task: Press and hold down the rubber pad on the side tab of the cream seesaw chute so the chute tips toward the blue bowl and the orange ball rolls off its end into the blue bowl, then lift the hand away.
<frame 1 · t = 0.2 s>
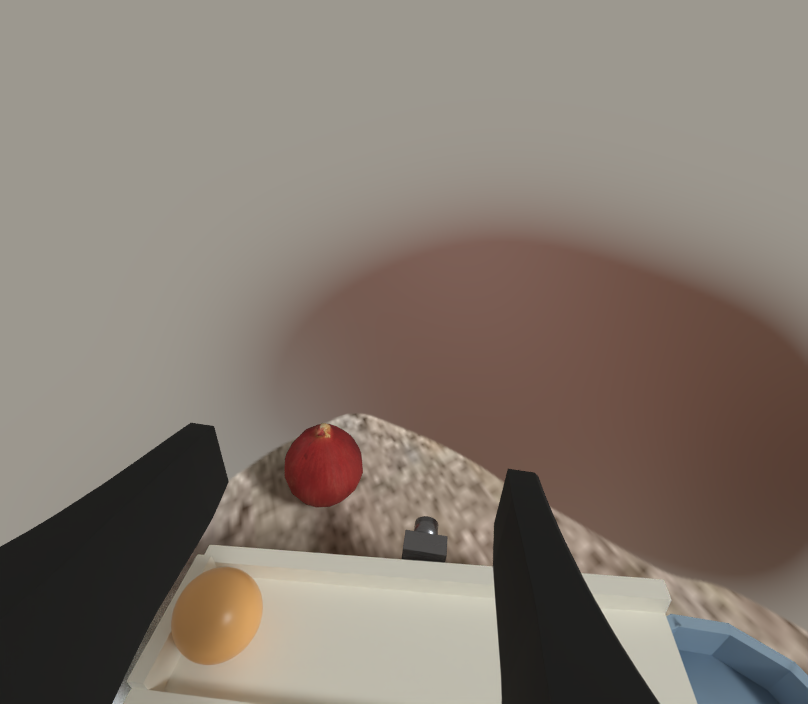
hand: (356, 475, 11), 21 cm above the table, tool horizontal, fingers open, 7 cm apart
onion: (324, 499, 36), on the table
ball: (218, 613, 21), point 7 cm above the table, tilted 21°, touching lever
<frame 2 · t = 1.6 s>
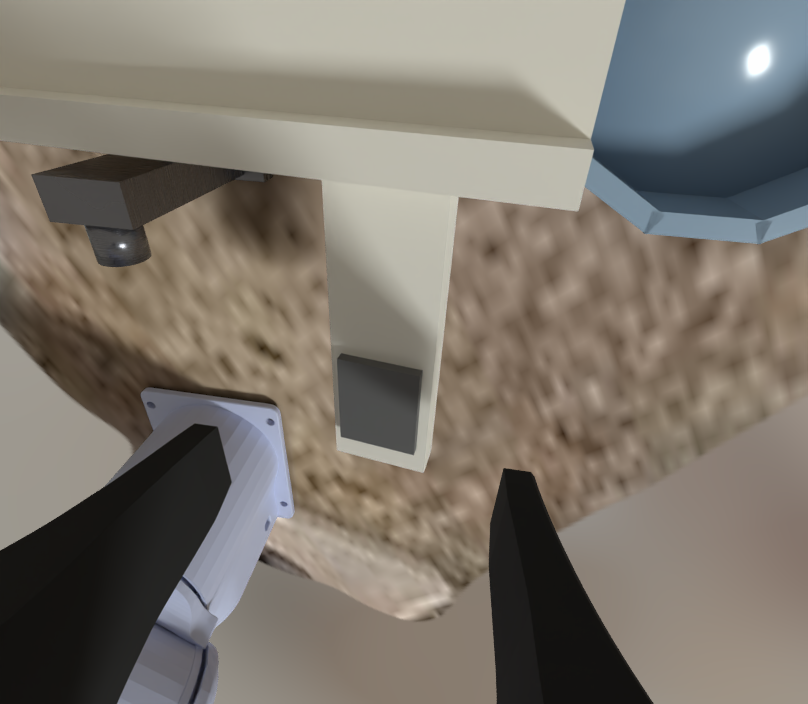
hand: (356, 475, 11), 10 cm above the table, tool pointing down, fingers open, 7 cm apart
lever: (80, 162, 11), point 7 cm above the table, hinge at -8.0°, touching ball
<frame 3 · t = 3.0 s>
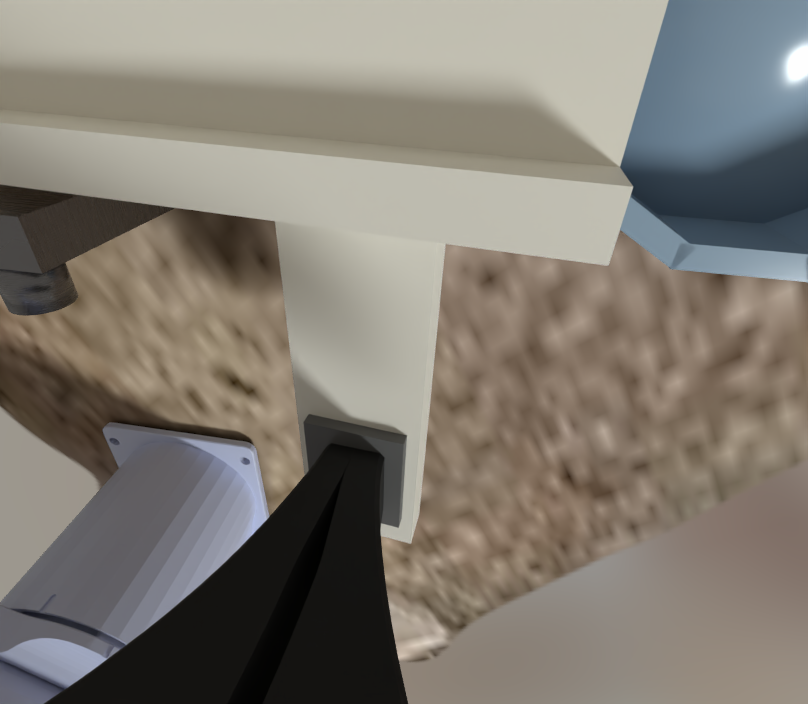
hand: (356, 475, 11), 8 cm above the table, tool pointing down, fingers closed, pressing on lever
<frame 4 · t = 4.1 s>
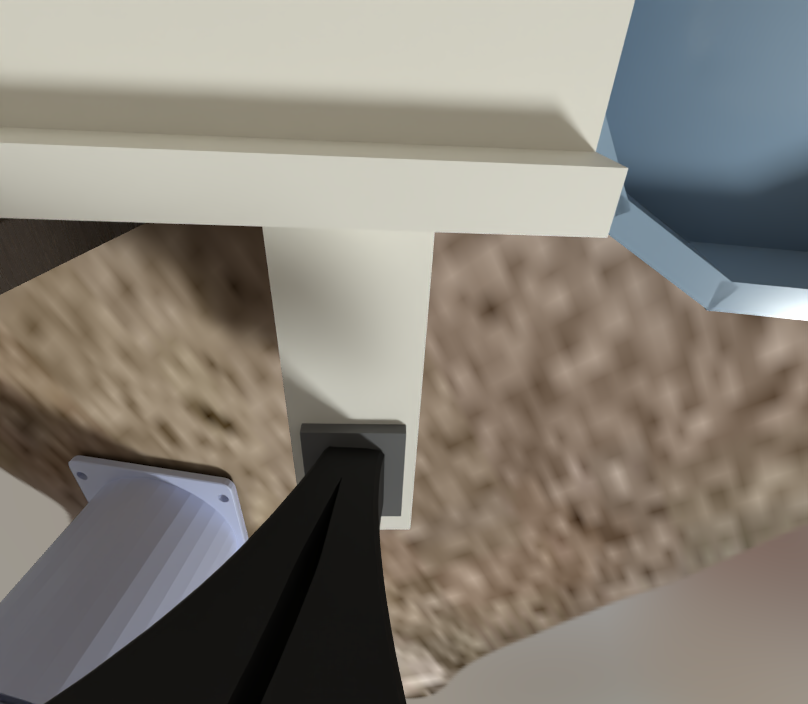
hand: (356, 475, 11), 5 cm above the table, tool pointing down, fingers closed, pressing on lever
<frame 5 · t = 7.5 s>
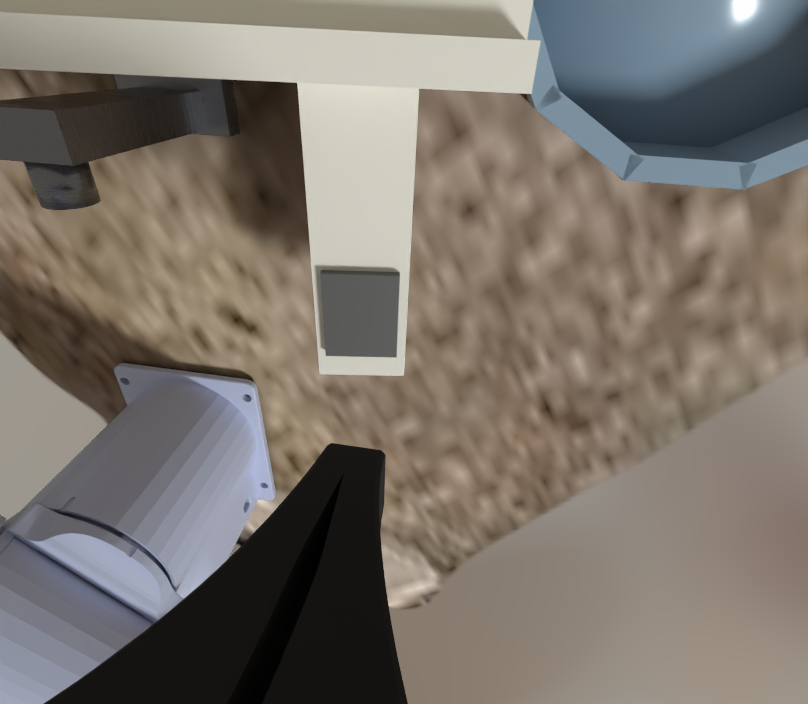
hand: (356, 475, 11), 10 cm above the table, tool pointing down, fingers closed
lever: (19, 91, 11), point 7 cm above the table, hinge at 10.1°
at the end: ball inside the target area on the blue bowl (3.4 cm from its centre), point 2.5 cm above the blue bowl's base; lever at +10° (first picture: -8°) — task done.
